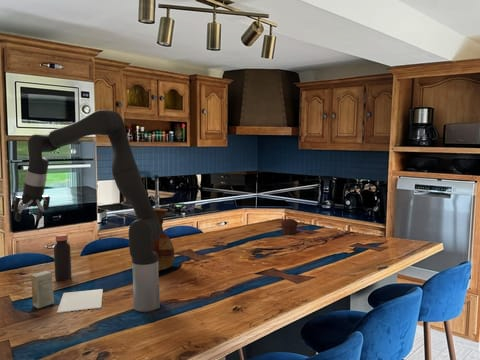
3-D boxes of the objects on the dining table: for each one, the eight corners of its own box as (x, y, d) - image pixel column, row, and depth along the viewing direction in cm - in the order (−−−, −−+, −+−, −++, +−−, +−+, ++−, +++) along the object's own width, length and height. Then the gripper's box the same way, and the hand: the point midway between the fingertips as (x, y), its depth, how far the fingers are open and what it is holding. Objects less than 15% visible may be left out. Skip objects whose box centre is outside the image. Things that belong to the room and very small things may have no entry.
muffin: (280, 235, 270) (280, 220, 269) (281, 231, 281) (281, 217, 280) (298, 235, 268) (298, 220, 267) (298, 232, 279) (298, 217, 278)
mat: (102, 289, 169) (102, 288, 169) (101, 308, 150) (101, 307, 150) (63, 293, 165) (63, 292, 165) (56, 313, 146) (56, 312, 146)
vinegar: (68, 275, 189) (66, 232, 187) (74, 278, 184) (72, 235, 182) (52, 278, 184) (50, 235, 182) (58, 282, 179) (56, 237, 177)
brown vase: (182, 269, 197) (181, 207, 195) (147, 279, 183) (145, 212, 180) (158, 261, 211) (157, 203, 208) (123, 270, 196) (122, 208, 194)
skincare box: (49, 301, 158) (47, 270, 157) (54, 303, 155) (53, 272, 154) (31, 306, 153) (30, 274, 152) (37, 309, 150) (35, 276, 149)
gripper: (22, 185, 156) (14, 225, 159) (56, 185, 168) (49, 222, 171) (12, 179, 160) (5, 217, 163) (47, 179, 172) (40, 215, 175)
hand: (28, 219), depth 167 cm, fingers open, 8 cm apart
